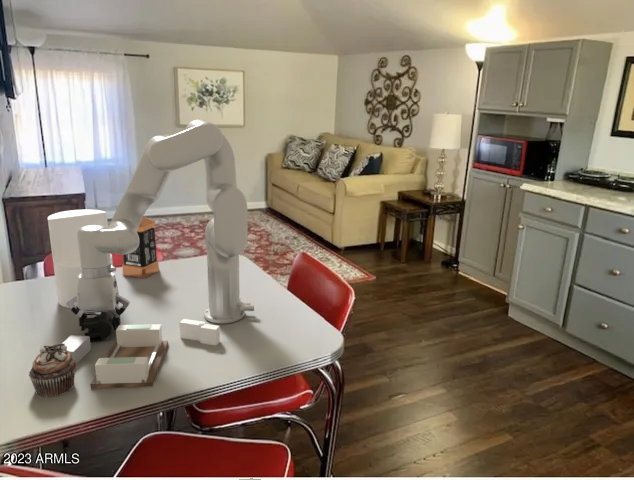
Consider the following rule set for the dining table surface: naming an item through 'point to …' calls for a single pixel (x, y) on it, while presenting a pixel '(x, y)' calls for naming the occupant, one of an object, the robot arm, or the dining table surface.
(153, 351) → the rail
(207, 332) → the white stepped block
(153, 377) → the rail board
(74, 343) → the block
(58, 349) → the cupcake
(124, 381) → the mounted modules
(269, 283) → the dining table surface
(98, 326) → the end cap
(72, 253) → the cylinder
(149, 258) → the whiskey bottle
